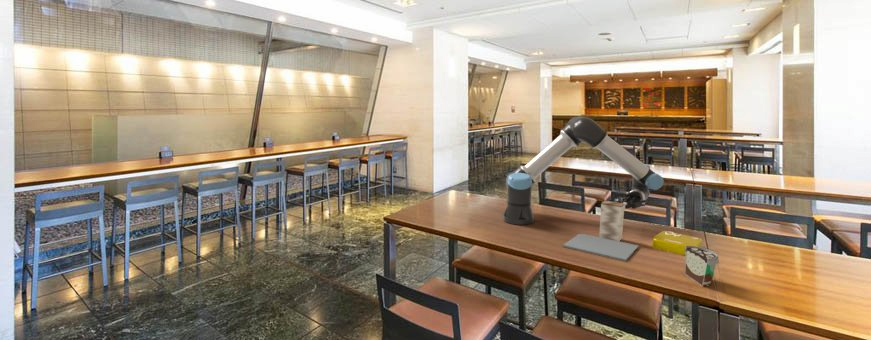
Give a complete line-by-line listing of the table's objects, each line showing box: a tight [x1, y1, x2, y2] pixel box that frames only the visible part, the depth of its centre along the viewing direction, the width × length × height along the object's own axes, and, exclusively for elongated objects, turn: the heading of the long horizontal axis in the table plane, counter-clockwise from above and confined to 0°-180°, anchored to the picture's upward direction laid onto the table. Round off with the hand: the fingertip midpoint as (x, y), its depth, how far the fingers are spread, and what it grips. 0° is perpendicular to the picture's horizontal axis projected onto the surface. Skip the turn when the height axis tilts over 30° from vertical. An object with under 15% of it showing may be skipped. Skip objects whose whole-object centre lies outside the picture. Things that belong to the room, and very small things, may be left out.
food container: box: [684, 246, 720, 287], centre depth 129 cm, size 12×6×10 cm, turn 179°
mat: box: [562, 232, 639, 263], centre depth 160 cm, size 24×19×1 cm
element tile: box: [651, 230, 704, 256], centre depth 159 cm, size 15×15×5 cm
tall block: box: [598, 200, 625, 242], centre depth 169 cm, size 8×5×16 cm, turn 50°
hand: (621, 208), depth 175 cm, fingers closed
